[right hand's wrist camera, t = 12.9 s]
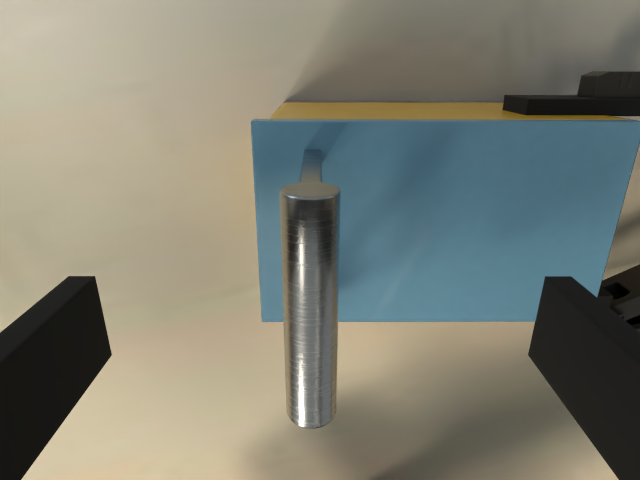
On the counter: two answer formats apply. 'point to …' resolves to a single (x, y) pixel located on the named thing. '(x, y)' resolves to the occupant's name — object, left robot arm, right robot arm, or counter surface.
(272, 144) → the lid
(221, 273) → the counter surface
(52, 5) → the counter surface
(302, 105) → the chest
